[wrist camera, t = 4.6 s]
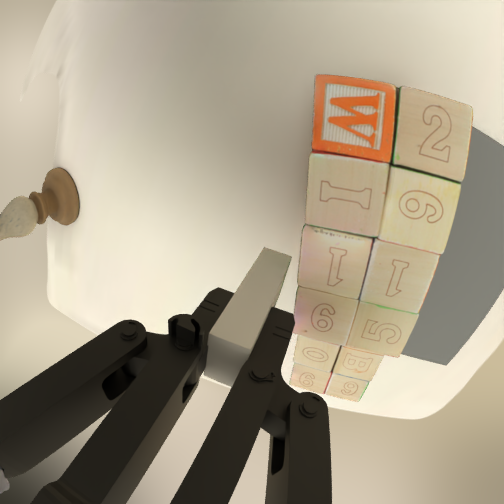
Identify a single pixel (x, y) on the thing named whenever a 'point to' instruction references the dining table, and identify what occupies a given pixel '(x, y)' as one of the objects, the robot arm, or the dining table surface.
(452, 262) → the mat
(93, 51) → the dining table surface
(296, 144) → the dining table surface
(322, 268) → the stack of blocks
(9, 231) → the candle holder
